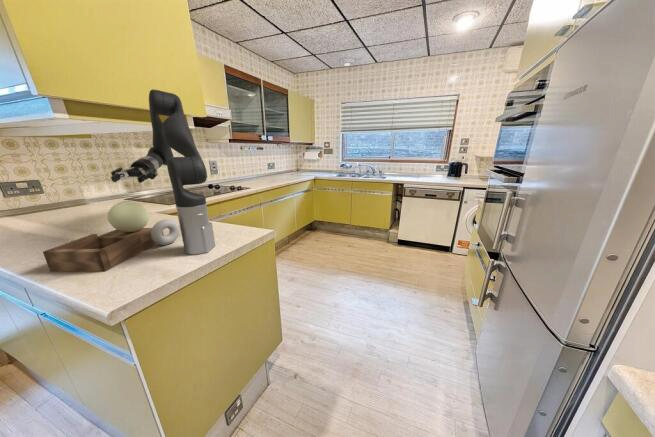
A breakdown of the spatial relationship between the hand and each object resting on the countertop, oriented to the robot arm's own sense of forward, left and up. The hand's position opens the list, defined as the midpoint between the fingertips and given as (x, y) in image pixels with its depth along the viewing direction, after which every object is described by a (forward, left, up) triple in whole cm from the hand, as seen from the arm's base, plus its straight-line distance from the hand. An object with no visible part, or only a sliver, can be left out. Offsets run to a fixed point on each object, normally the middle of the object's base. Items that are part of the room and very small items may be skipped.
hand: (126, 180), depth 88 cm
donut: (-16, +6, -24) cm, 30 cm away
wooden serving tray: (-2, +14, -24) cm, 28 cm away
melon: (-2, +5, -13) cm, 14 cm away
